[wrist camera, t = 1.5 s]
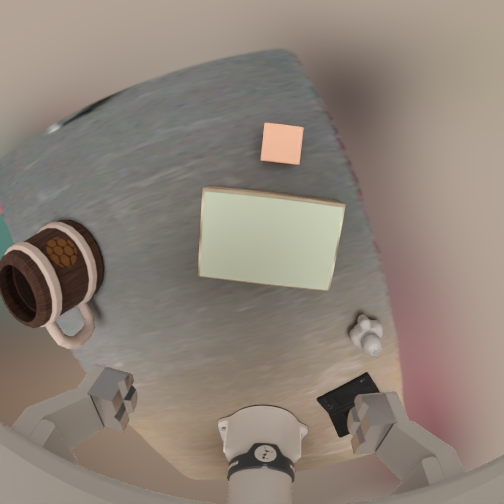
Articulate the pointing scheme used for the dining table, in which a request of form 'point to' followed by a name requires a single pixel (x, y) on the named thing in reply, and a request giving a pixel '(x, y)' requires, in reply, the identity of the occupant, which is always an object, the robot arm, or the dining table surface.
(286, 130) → the terracotta block
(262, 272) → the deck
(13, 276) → the mug
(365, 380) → the handheld gaming console
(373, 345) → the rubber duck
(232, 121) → the dining table surface
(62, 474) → the robot arm
